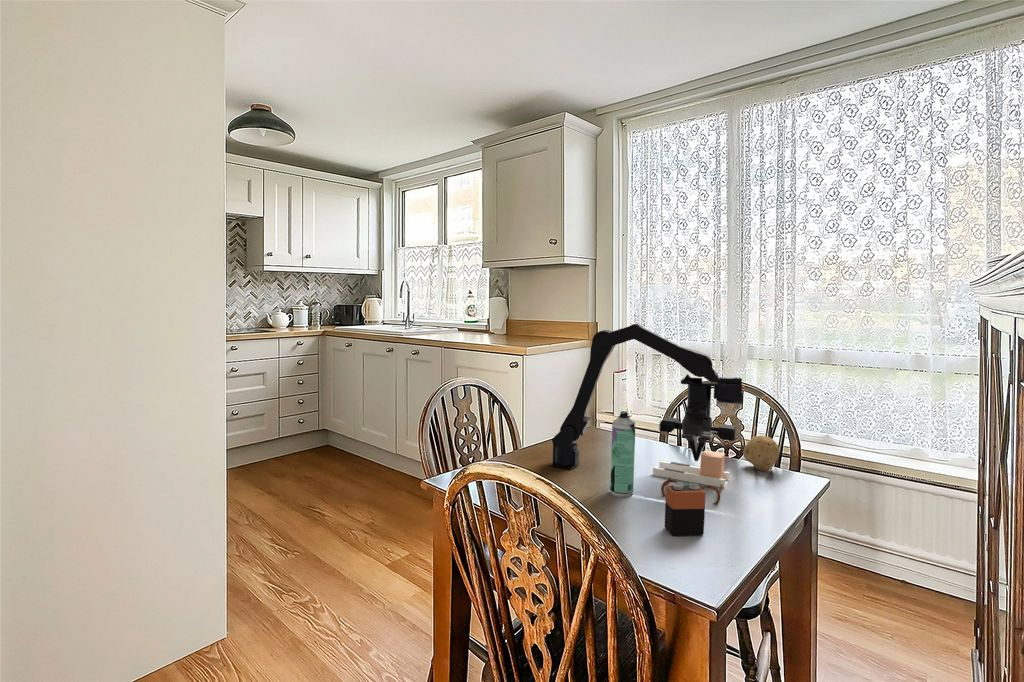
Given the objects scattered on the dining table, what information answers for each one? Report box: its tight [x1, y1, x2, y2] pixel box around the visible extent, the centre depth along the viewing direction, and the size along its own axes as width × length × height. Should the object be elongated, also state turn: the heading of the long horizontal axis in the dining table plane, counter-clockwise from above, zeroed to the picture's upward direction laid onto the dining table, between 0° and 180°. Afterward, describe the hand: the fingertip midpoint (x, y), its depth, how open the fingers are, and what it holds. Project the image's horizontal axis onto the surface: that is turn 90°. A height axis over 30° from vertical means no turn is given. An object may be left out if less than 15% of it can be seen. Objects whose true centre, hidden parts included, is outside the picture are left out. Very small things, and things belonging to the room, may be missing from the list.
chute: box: [652, 460, 731, 489], centre depth 144 cm, size 18×7×3 cm, turn 60°
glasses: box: [660, 477, 723, 506], centre depth 133 cm, size 13×13×5 cm
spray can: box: [609, 410, 636, 498], centre depth 132 cm, size 6×6×20 cm
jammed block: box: [700, 450, 726, 479], centre depth 141 cm, size 5×5×7 cm
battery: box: [664, 482, 706, 537], centre depth 111 cm, size 4×7×10 cm, turn 95°
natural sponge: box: [742, 434, 780, 472], centre depth 151 cm, size 9×9×10 cm
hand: (696, 460), depth 143 cm, fingers closed
